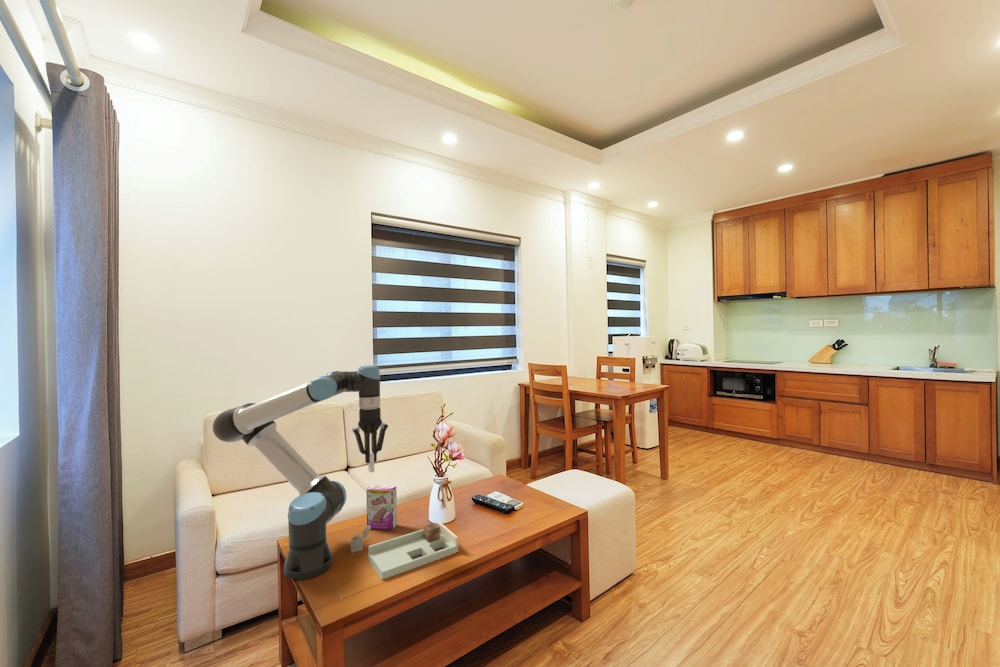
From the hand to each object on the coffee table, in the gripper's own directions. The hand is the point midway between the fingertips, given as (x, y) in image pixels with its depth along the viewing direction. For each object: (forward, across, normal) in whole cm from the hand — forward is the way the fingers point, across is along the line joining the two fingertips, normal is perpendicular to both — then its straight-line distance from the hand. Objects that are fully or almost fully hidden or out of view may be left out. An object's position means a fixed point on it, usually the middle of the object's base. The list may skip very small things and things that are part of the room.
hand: (371, 471), depth 156 cm
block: (+26, +18, -12) cm, 34 cm away
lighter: (+29, -4, +1) cm, 29 cm away
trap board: (+28, +10, -15) cm, 34 cm away
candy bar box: (+29, +8, +13) cm, 32 cm away
